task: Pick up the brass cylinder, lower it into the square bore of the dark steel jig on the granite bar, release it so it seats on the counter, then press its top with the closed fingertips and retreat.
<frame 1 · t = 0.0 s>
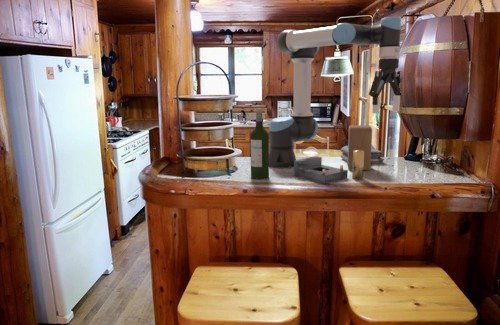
hand: (386, 112, 162), 28 cm above the countertop, fingers open, 13 cm apart
jig: (320, 177, 173), on the countertop
brass cylinder: (357, 178, 169), on the countertop
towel: (361, 161, 205), on the countertop
wooden block: (358, 168, 188), on the countertop
wine bottle: (259, 177, 174), on the countertop
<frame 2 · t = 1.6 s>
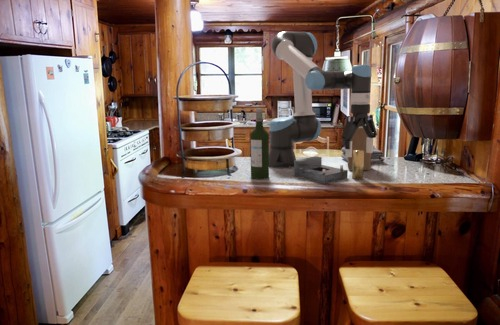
hand: (359, 154, 167), 10 cm above the countertop, fingers open, 13 cm apart
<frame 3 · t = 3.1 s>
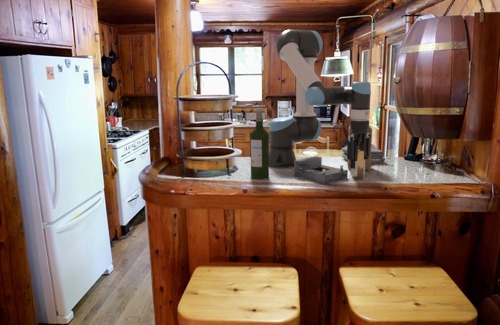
hand: (357, 174, 169), 2 cm above the countertop, fingers closed on brass cylinder, 4 cm apart
brass cylinder: (357, 178, 169), on the countertop, touching gripper
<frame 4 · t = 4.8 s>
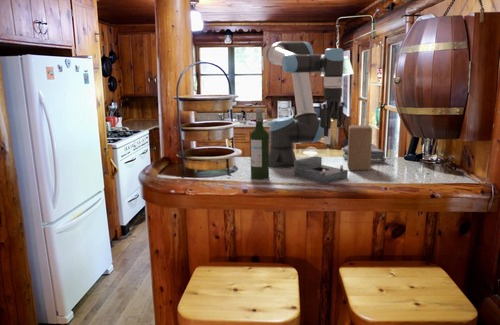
hand: (330, 142, 169), 15 cm above the countertop, fingers closed on brass cylinder, 4 cm apart
brass cylinder: (330, 147, 170), point 13 cm above the countertop, touching gripper
when the fingers open (4 cm above the countertop, at t = 6.9 s): brass cylinder drops 2 cm, resting in jig.
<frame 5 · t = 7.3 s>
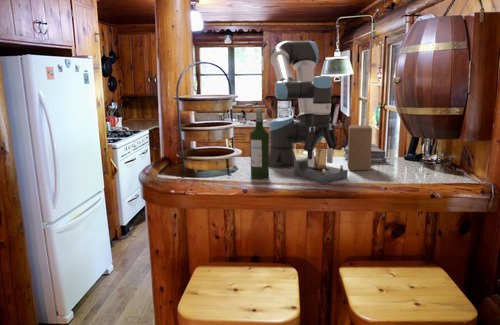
hand: (320, 164, 172), 5 cm above the countertop, fingers open, 11 cm apart
brass cylinder: (320, 177, 173), resting in jig
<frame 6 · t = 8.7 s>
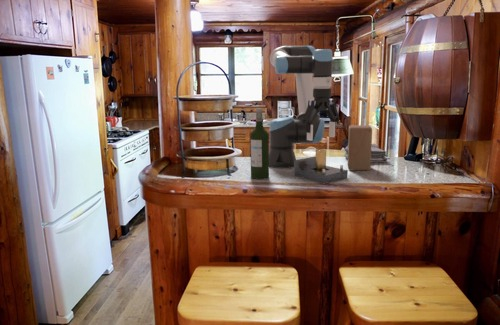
hand: (321, 138, 169), 17 cm above the countertop, fingers open, 13 cm apart
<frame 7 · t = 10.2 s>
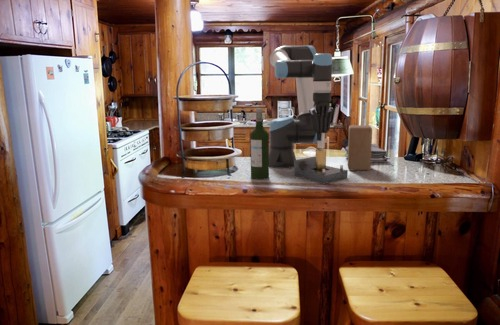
hand: (320, 147, 170), 13 cm above the countertop, fingers closed
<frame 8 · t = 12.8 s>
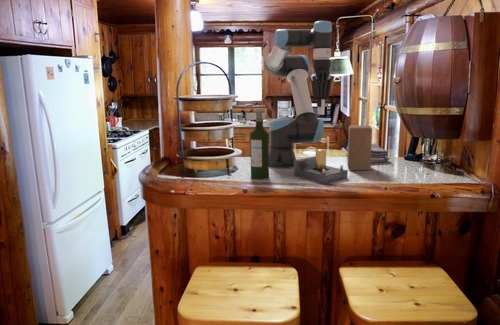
hand: (320, 114, 175), 26 cm above the countertop, fingers closed
at the end: brass cylinder 0.0 cm from the jig (horizontally); brass cylinder resting in jig; brass cylinder tilted 0° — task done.
